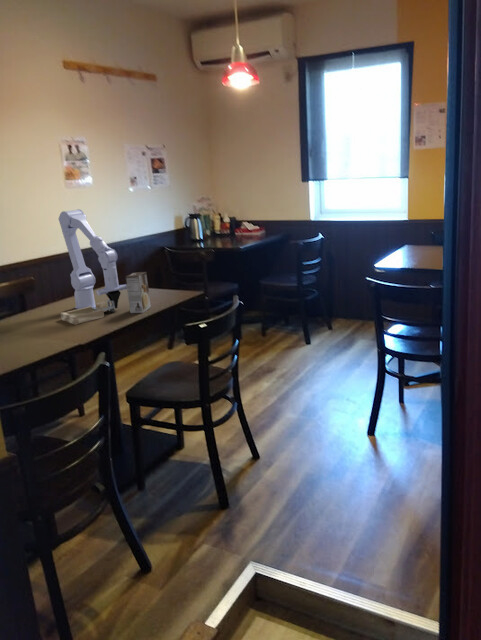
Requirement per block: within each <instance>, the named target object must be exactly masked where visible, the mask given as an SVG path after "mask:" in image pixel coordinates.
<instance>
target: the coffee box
mask: <svg viewBox="0 0 481 640" xmlns="http://www.w3.org/2000/svg"><path fill="white" fill-rule="evenodd" d="M124 277H125V284H126V285H127V289H126V290H127V291H126V292H127V297H128V298H127V299H128V304H129V306H128V307H129V313H130V314H137V313H145V312H147V311H149V309H151V308H152V305H151V304H152V303H151V298H150V297H151V296H150V289H149V283H148V282H149V281H148V274H147V271H138V272H131V273H130V274H129V275H128V274H127V275H126V276H124Z"/></svg>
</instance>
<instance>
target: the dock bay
mask: <svg viewBox="0 0 481 640" xmlns="http://www.w3.org/2000/svg"><path fill="white" fill-rule="evenodd" d="M104 312H105V311H103V310H98V311H93V309H92V307H91V306H90V307H86V308H81V309H77V308H76V309H74V310H70V311H69V310H68V311H66V312H64V311H63V312H59V313H60V319H61V320H62V321H63V322H67V323H70V324H72V325H75V326H77V325H79V324H81V323H82V324H83V323H86V322H90V321H93V320H94V321H95V320H97V319H102V318H105V313H104Z"/></svg>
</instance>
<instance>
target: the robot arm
mask: <svg viewBox="0 0 481 640" xmlns="http://www.w3.org/2000/svg"><path fill="white" fill-rule="evenodd" d="M58 222H59V224H60V228H61V229H60V230H61V231H62V232H61V233H62V235H63V239H64V242H65V246H66V247H67V248H66V249H67V251H68V255H69V259H70V261H71V265H72V269H73V270H72V271H71V273H70V274H69V275H70V283H71V286H72V288H73V289H74V295H73V296H74V301H75V306H74V308H75V309H76V310H77V309H81V308H86V307H90V306H91V307H92V308H95V307H96V305H95V303H96V301H95V295H94V294H95V293H94V288H95V284H96V277H95V275H94V274H93V272H92V269H91V268H89V267H88V266H86V263H85V260H84V255H83V253H82V249H81V246H80V243H79V240H78V237H77V230H78V229H79V230H80V232H82V234H83V235H84V236H85V237H86V238H87V239H88V240H89V245H90V247H91V248H92V249H93V251H94V252H95V253H96V255H97V256H98V257H97V260H98V262H99V264H100V265H101V266H100V267H101V268H102V272H103V278H104V286H105V287H104V288H102V289H97V290H96V296H102V295H106V297H107V298H108V300H112V301H114V305H115V308H114V309H117V308H118V305H119V299H120V297H121V294H122V293H121V291H123V290H127V285H126V283H125V284H119V283H120V282H119V277H118V271H117V261H118V258H119V257H118V253H117V250H115V249H114V248H111V247H109V246H108V244H107V243H106V241H105V240H104V239H103V237H101V236H98V235H97V234H96V233H95V231H94V230H93V229H92V226H91V225H90V224H89V223H88V221H87V215H86V214H85V213H84V211H83V210H82V209H79V208H78V209H73V210H66V211H63V210H62V211H61V212H60V214H59V216H58ZM110 304H112V302H110Z"/></svg>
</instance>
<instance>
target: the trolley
mask: <svg viewBox="0 0 481 640" xmlns="http://www.w3.org/2000/svg"><path fill="white" fill-rule="evenodd" d="M111 302H112V303H111ZM95 305H96V307H95V308H92V310H93V312H94V311H98V310H103V311H104V312H105V311H107V312H111V313H114V312H115V311H116V310H115V309H116V308H115V305H114V301H112V300H110V299H106V301H99V302H95Z"/></svg>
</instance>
